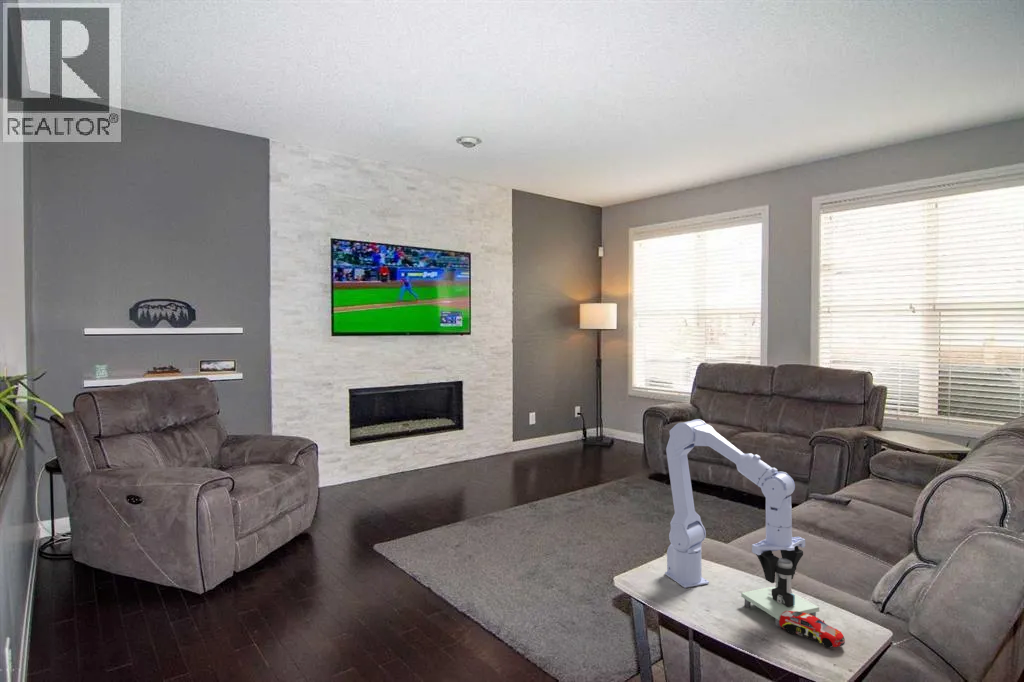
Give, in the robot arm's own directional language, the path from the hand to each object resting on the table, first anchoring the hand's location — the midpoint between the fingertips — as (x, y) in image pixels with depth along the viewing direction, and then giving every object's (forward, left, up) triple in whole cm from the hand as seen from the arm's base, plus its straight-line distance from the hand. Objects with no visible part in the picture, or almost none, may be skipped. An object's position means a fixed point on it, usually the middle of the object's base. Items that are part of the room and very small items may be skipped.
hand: (779, 579), depth 132 cm
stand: (0, 0, -8) cm, 8 cm away
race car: (+11, -2, -8) cm, 14 cm away
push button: (+1, 0, -5) cm, 5 cm away
